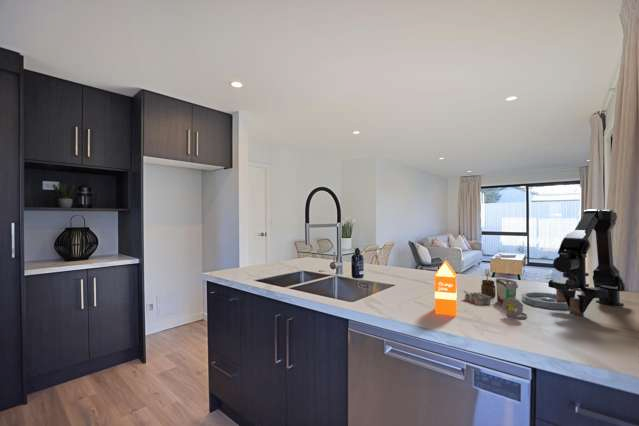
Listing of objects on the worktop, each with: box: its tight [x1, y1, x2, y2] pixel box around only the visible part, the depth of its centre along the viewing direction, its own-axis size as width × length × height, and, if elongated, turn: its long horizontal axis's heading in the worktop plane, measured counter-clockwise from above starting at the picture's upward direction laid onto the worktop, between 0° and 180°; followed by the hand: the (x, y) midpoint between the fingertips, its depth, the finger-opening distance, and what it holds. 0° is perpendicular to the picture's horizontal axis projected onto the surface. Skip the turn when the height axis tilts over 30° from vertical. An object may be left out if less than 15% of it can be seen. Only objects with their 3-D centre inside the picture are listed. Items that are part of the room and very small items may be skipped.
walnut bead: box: [569, 296, 585, 317], centre depth 118 cm, size 4×4×6 cm
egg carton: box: [463, 290, 492, 306], centre depth 136 cm, size 11×8×4 cm
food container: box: [495, 278, 519, 308], centre depth 131 cm, size 12×6×10 cm, turn 168°
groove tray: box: [521, 291, 570, 310], centre depth 133 cm, size 18×18×2 cm
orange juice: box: [434, 259, 458, 317], centre depth 123 cm, size 8×9×20 cm
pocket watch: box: [502, 291, 528, 319], centre depth 115 cm, size 8×8×10 cm
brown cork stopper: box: [555, 289, 566, 303], centre depth 131 cm, size 4×4×6 cm
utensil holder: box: [480, 268, 497, 298], centre depth 146 cm, size 6×6×12 cm
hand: (576, 310), depth 118 cm, fingers closed on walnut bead, 4 cm apart
